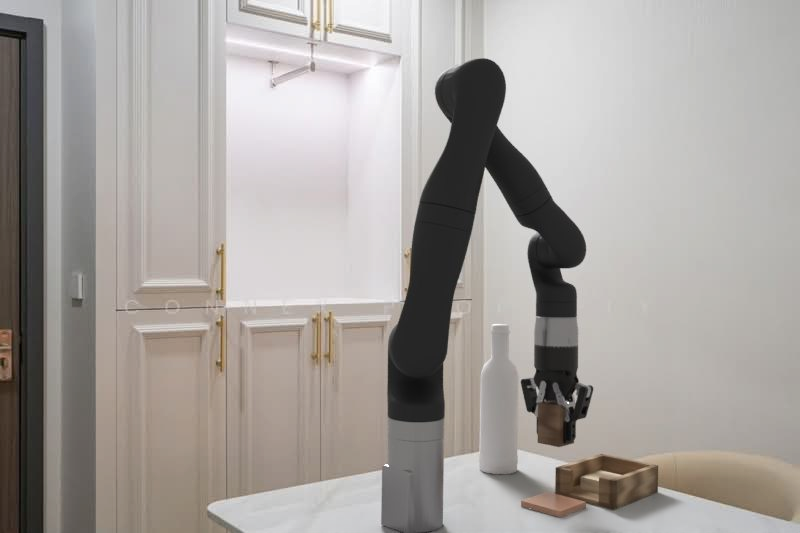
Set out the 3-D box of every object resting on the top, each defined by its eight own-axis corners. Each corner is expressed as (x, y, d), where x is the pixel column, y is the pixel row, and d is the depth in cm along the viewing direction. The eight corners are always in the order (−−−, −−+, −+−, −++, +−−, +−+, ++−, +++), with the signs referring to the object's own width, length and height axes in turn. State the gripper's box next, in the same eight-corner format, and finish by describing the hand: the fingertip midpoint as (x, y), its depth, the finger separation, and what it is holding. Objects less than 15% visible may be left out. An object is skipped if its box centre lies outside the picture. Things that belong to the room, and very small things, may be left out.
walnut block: (574, 443, 133) (574, 402, 133) (559, 447, 130) (559, 406, 130) (552, 438, 136) (552, 399, 136) (537, 442, 133) (537, 402, 133)
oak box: (613, 509, 132) (614, 481, 132) (555, 494, 141) (555, 467, 141) (657, 492, 143) (658, 465, 143) (601, 478, 152) (601, 453, 152)
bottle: (476, 473, 154) (479, 325, 155) (480, 463, 162) (482, 322, 162) (516, 476, 153) (519, 326, 153) (518, 466, 161) (520, 323, 161)
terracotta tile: (559, 517, 127) (560, 511, 127) (520, 506, 133) (521, 500, 133) (585, 507, 133) (585, 501, 133) (547, 497, 139) (547, 491, 139)
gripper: (603, 344, 131) (603, 444, 130) (535, 338, 141) (534, 431, 141) (579, 347, 125) (579, 451, 125) (510, 341, 136) (509, 437, 136)
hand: (555, 440), depth 133 cm, fingers closed on walnut block, 4 cm apart
